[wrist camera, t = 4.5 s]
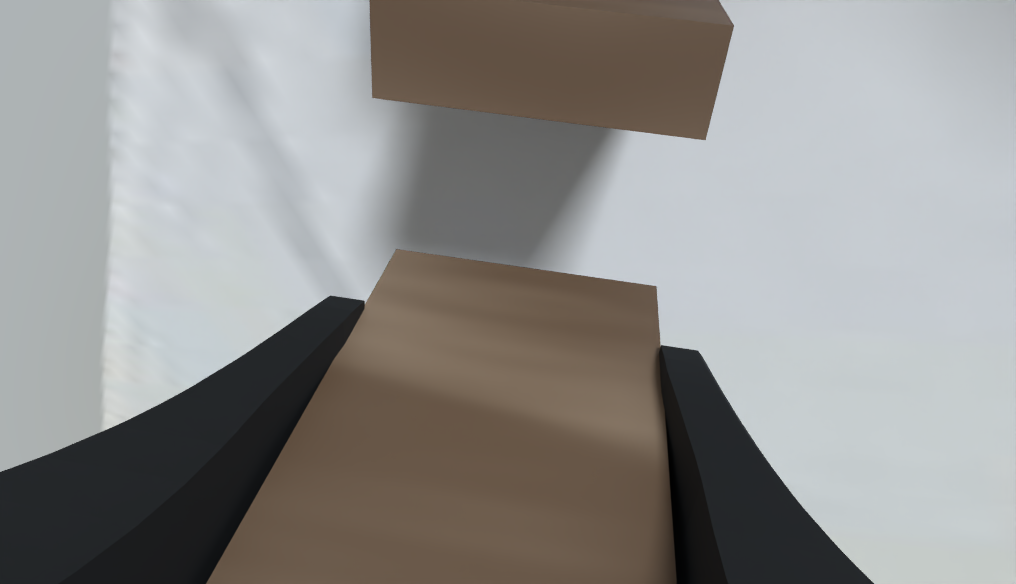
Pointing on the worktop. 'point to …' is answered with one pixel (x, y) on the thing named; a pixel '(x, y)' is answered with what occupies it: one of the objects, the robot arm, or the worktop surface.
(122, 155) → the worktop surface
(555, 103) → the domino
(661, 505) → the domino
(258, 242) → the worktop surface
